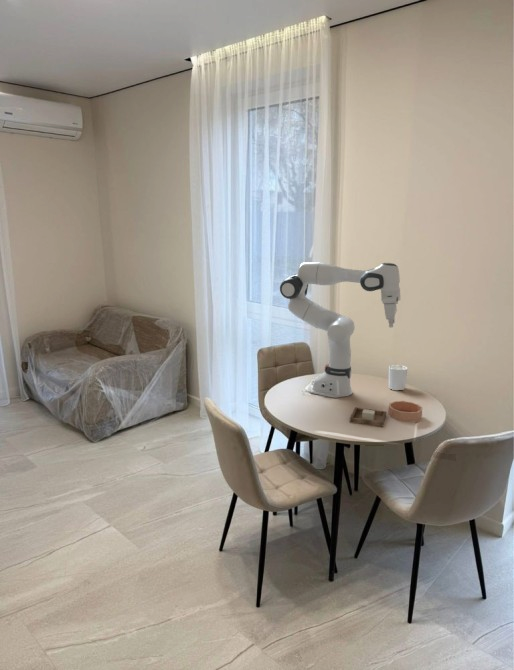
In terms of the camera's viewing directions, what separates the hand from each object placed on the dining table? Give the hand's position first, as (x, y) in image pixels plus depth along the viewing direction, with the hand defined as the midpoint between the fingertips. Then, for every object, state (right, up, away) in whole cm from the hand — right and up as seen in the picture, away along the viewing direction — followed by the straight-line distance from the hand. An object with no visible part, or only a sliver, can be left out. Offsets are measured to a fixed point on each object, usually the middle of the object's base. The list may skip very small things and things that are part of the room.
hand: (391, 325), depth 237 cm
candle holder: (+10, -34, +26) cm, 44 cm away
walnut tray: (-16, -43, -18) cm, 49 cm away
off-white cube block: (-16, -42, -18) cm, 49 cm away
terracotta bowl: (+2, -42, -13) cm, 44 cm away
